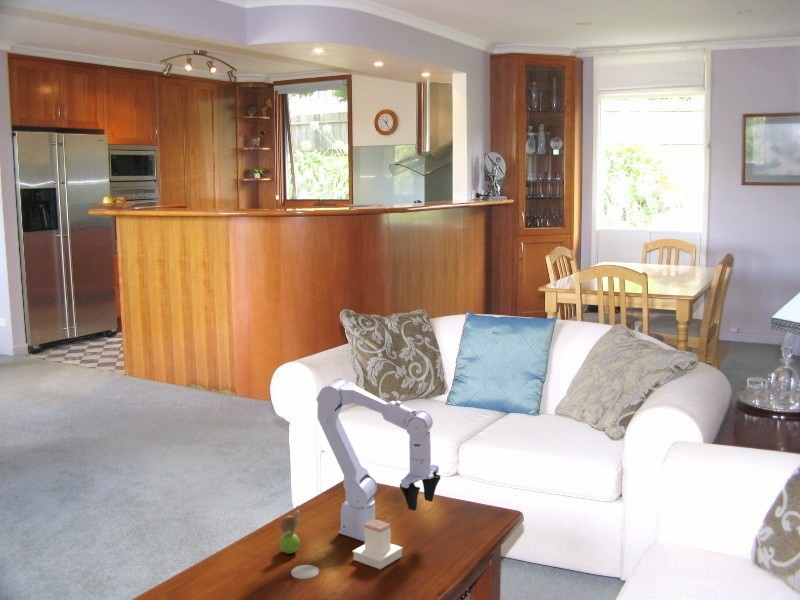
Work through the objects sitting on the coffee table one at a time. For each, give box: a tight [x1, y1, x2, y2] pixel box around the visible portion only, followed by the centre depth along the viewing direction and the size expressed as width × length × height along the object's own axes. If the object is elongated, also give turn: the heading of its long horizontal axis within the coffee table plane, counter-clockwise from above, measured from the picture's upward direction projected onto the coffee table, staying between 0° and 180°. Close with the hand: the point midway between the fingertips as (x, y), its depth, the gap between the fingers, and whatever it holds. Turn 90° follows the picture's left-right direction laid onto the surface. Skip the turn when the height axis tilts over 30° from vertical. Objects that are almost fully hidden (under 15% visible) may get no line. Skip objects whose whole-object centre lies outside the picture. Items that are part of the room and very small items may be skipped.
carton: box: [364, 518, 392, 555], centre depth 218 cm, size 6×4×7 cm
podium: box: [351, 543, 404, 570], centre depth 219 cm, size 9×9×2 cm
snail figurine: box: [278, 505, 301, 554], centre depth 222 cm, size 5×6×12 cm
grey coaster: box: [290, 564, 320, 580], centre depth 212 cm, size 7×7×1 cm
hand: (420, 504), depth 227 cm, fingers open, 7 cm apart
